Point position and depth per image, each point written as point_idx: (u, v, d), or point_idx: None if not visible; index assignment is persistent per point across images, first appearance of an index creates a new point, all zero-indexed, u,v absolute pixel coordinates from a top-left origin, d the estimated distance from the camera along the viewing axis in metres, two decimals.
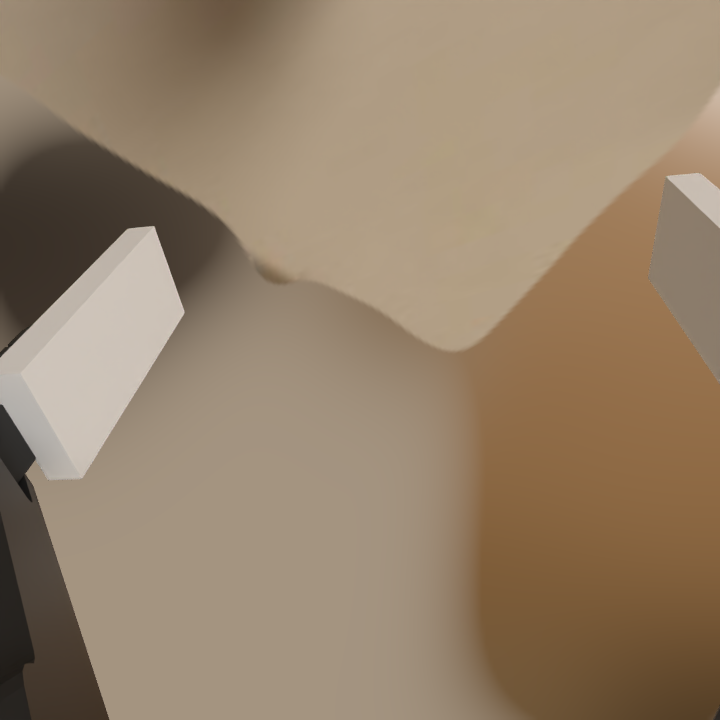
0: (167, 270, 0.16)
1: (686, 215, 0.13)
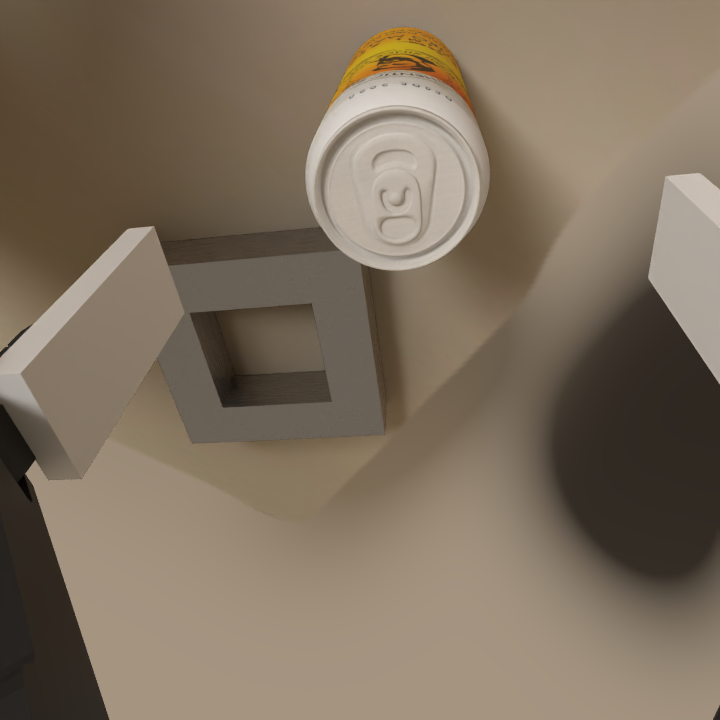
0: (167, 270, 0.16)
1: (686, 215, 0.13)
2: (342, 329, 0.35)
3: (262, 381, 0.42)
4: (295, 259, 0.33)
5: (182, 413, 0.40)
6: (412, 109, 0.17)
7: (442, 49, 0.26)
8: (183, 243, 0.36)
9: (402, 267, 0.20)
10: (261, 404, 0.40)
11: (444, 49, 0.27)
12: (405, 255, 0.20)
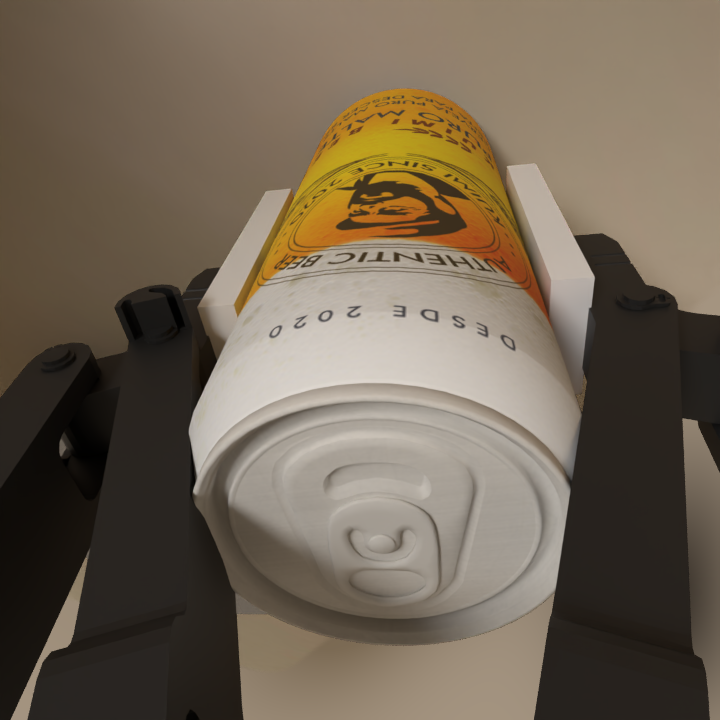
0: None
1: (513, 199, 0.15)
2: None
3: None
4: None
5: None
6: (419, 402, 0.06)
7: (468, 133, 0.16)
8: None
9: (397, 639, 0.10)
10: None
11: (471, 130, 0.16)
12: None
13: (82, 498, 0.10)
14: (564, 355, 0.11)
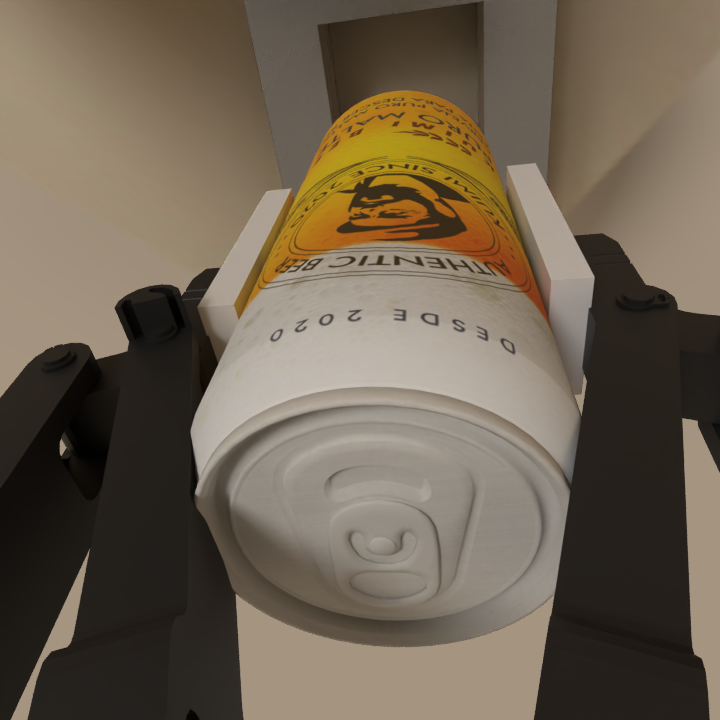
0: None
1: (513, 199, 0.15)
2: (517, 45, 0.27)
3: None
4: None
5: None
6: (420, 406, 0.06)
7: (468, 135, 0.16)
8: None
9: (398, 640, 0.10)
10: None
11: (471, 132, 0.16)
12: (404, 616, 0.10)
13: (82, 498, 0.10)
14: (564, 355, 0.11)
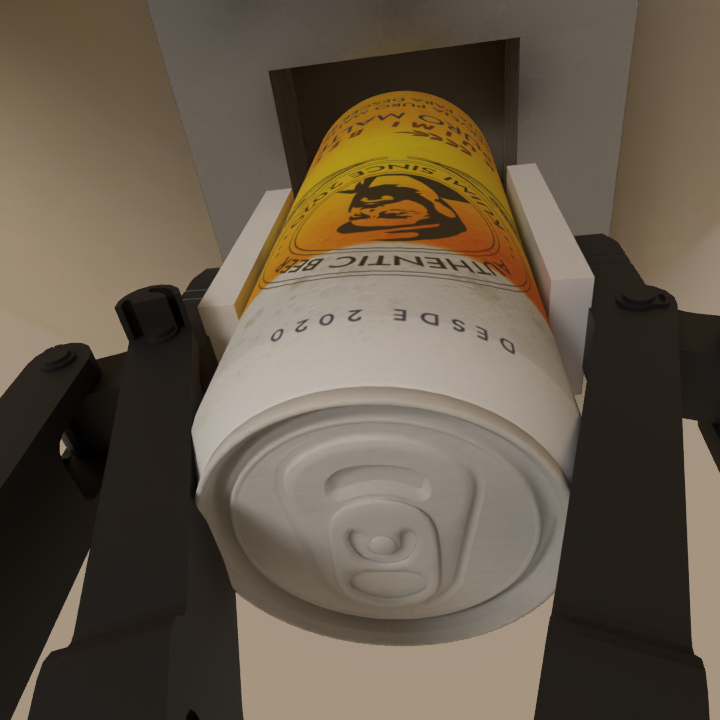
0: None
1: (513, 199, 0.15)
2: (569, 102, 0.18)
3: None
4: None
5: None
6: (419, 405, 0.07)
7: (468, 135, 0.16)
8: None
9: (398, 639, 0.10)
10: None
11: (471, 132, 0.16)
12: (404, 615, 0.10)
13: (82, 498, 0.10)
14: (564, 355, 0.11)
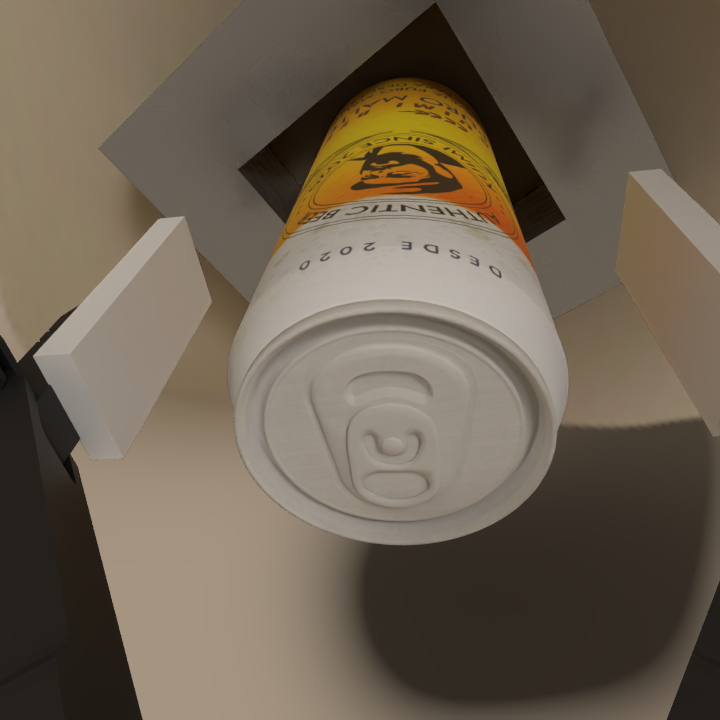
0: (196, 259, 0.17)
1: (645, 209, 0.13)
2: None
3: (297, 194, 0.22)
4: (649, 155, 0.18)
5: (161, 95, 0.18)
6: (424, 312, 0.08)
7: (465, 116, 0.17)
8: None
9: (405, 539, 0.11)
10: None
11: (467, 114, 0.18)
12: (410, 518, 0.11)
13: None
14: None
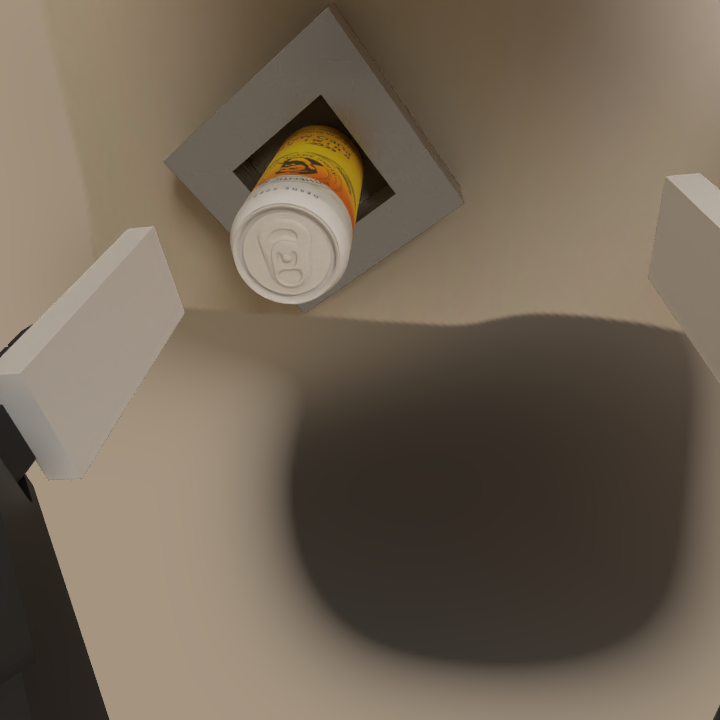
0: (167, 270, 0.16)
1: (685, 215, 0.13)
2: (385, 229, 0.40)
3: None
4: (428, 161, 0.37)
5: (195, 136, 0.37)
6: (289, 205, 0.27)
7: (339, 144, 0.36)
8: (362, 46, 0.36)
9: (296, 301, 0.30)
10: None
11: (342, 143, 0.37)
12: (298, 294, 0.30)
13: None
14: None
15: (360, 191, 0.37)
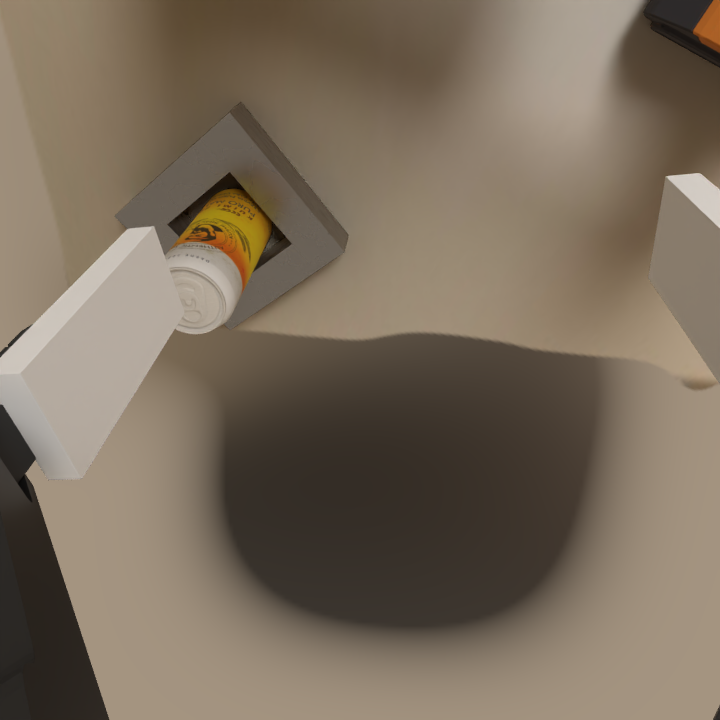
0: (167, 270, 0.16)
1: (686, 215, 0.13)
2: (287, 269, 0.51)
3: None
4: (314, 221, 0.48)
5: (137, 198, 0.48)
6: (186, 269, 0.39)
7: (246, 207, 0.48)
8: (263, 133, 0.47)
9: (198, 332, 0.42)
10: None
11: (250, 205, 0.49)
12: (199, 327, 0.42)
13: None
14: None
15: (262, 242, 0.49)
